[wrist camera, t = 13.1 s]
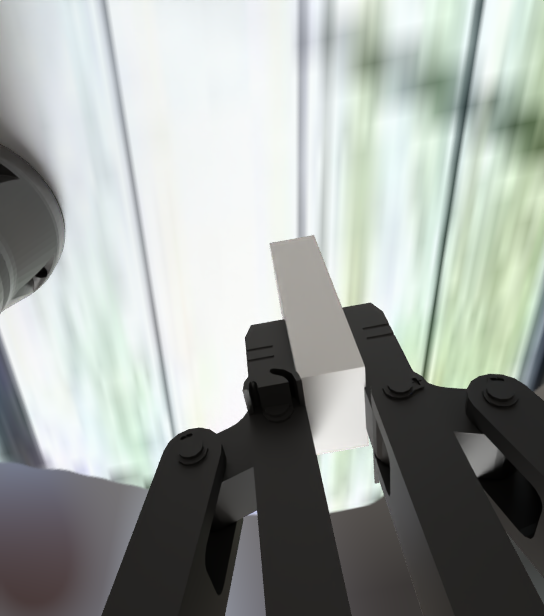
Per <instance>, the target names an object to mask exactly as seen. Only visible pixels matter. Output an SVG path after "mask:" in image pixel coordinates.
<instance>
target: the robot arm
mask: <svg viewBox="0 0 544 616" xmlns="http://www.w3.org/2000/svg"><path fill="white" fill-rule="evenodd" d="M64 240H65V228H64V221H63V217H62V213H61V210H60V207H59V205H58V203H57V201H56V198H55V197H54V195H53V193H52V191H51V190H50V188H49V187H48V185H47V184H46V182H45V181H44V180H43V179H42V177H41V176H40V175H39V174H38V173H37V172H36V171H35V170H34V169H33V168H32V167H31V166H30V165H29V164H28V163H27V162H26V161H25V160H23V159H22V158H21V157H20V156H18V155H17V154H15V153H14V152H12V151H11V150H9V149H8V148H6V147H4V146H3V145H1V144H0V313H1V312H2V311H3V310H5V309H7V308H9V307H10V306H12V305H14V304H15V303H17V302H19V301H21V300H22V299H24V298H26V297H27V296H29V295H31V294H32V293H34V292H35V291H36V290H38V289H39V288H40V287H41V286H42V285H43V284H44V283H45V282H46V280H47V279H48V278H49V277H50V275H51V274H52V272H53V270H54V268H55V266H56V264H57V263H58V261H59V259H60V257H61V254H62V251H63V247H64ZM270 248H271V254H272V260H273V266H274V272H275V278H276V284H277V290H278V296H279V302H280V308H281V313H282V318H283V320H278V321H272V322H267V323H261V324H255V325H251V326H250V328H249V330H248V333H247V335H246V337H245V343H246V355H247V366H248V378H247V379H246V380H245V382H244V386H243V394H244V398H245V402H246V406H247V409H248V412H247V413H246V414H245V416H244V417H243V418H242V419H241V420H240V421H239V422H238V423H237V424H235V425H233V426H232V427H230V428H228V429H226V430H224V431H222V432H220V433H217V434H216V433H214V432H213V431H211V430H210V429H204V428H194V429H188V430H186V431H184V432H182V433H180V434H178V435H177V436H175V437H174V438H173V439H172V440H171V441H170V442H169V443H168V445H167V446H166V448H165V450H164V452H163V454H162V457H161V460H160V462H159V465H158V468H157V470H156V473H155V475H154V478H153V481H152V483H151V486H150V489H149V491H148V494H147V497H146V500H145V502H144V505H143V507H142V510H141V512H140V515H139V518H138V520H137V523H136V526H135V529H134V531H133V534H132V536H131V539H130V542H129V544H128V547H127V550H126V552H125V555H124V557H123V560H122V563H121V565H120V568H119V571H118V573H117V576H116V579H115V581H114V584H113V587H112V589H111V592H110V595H109V597H108V600H107V603H106V605H105V608H104V610H103V613H102V616H225V612H226V607H227V602H228V597H229V591H230V586H231V581H232V576H233V571H234V566H235V560H236V555H237V550H238V544H239V540H240V534H241V529H242V524H243V517H245V516H247V515H249V514H251V513H253V512H255V511H256V510H257V514H258V525H259V537H260V549H261V560H262V573H263V584H264V596H265V608H266V616H352V615H351V611H350V606H349V601H348V597H347V593H346V588H345V583H344V579H343V574H342V570H341V565H340V560H339V556H338V551H337V547H336V542H335V537H334V533H333V528H332V524H331V519H330V515H329V510H328V505H327V501H326V496H325V492H324V487H323V483H322V478H321V473H320V469H319V464H318V460H317V455H320V454H326V453H331V452H337V451H343V450H348V449H354V448H359V447H365V446H369V442H368V436H369V439H370V441H371V444H372V447H373V457H374V479H375V483H379V481H380V484H381V487H382V490H383V493H384V496H385V499H386V502H387V505H388V508H389V512H390V515H391V517H392V521H393V524H394V527H395V530H396V533H397V536H398V539H399V542H400V545H401V548H402V552H403V555H404V558H405V561H406V564H407V567H408V570H409V573H410V576H411V579H412V582H413V585H414V588H415V591H416V594H417V598H418V601H419V603H420V607H421V610H422V613H423V616H544V604H543V602H542V600H541V598H540V597H539V595H538V593H537V591H536V589H535V587H534V585H533V583H532V581H531V579H530V577H529V576H528V574H527V572H526V570H525V568H524V566H523V564H522V562H521V560H520V558H519V556H518V554H517V553H516V551H515V549H514V547H513V545H512V543H511V542H510V539H509V537H508V535H509V536H510V537H511V538H512V540H513V541H514V542H515V543H516V545H517V546H518V547H519V548H520V549H521V551H522V552H523V553H524V554H525V556H526V557H527V558H528V559H529V560H530V562H531V563H532V564H533V565H534V566H535V568H536V569H537V570H538V572H539V573H540V574H541V575H542V576H543V578H544V401H543V400H542V399H541V398H540V397H539V396H537V395H536V394H535V393H534V392H533V391H531V390H530V389H529V388H528V387H527V386H526V385H524V384H523V383H521V382H519V381H518V380H516V379H515V378H511V377H508V376H505V375H499V374H487V375H483V376H479V377H477V378H476V379H474V380H472V381H471V383H470V384H469V386H468V388H467V389H457V388H445V387H439V386H435V385H432V384H429V383H427V382H426V380H425V379H424V378H423V377H422V376H421V375H419V374H417V373H415V372H414V371H413V370H412V369H411V367H410V365H409V363H408V361H407V359H406V357H405V355H404V353H403V351H402V349H401V347H400V345H399V343H398V341H397V339H396V337H395V335H394V334H393V331H392V329H391V327H390V326H389V323H388V321H387V319H386V317H385V315H384V313H383V311H381V310H380V309H379V308H377V307H376V306H374V305H373V304H372V303H366V304H360V305H355V306H349V307H344V308H342V306H341V304H340V301H339V298H338V296H337V293H336V291H335V288H334V286H333V283H332V280H331V278H330V275H329V273H328V270H327V268H326V265H325V262H324V260H323V257H322V255H321V252H320V250H319V247H318V244H317V242H316V239H315V237H314V235H312V236H307V237H301V238H296V239H290V240H285V241H279V242H273V243H270ZM506 532H507V533H506ZM507 534H508V535H507Z"/></svg>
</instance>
